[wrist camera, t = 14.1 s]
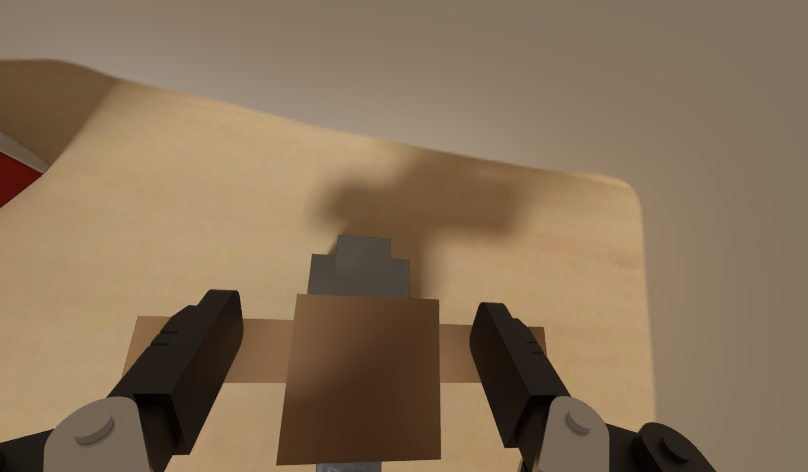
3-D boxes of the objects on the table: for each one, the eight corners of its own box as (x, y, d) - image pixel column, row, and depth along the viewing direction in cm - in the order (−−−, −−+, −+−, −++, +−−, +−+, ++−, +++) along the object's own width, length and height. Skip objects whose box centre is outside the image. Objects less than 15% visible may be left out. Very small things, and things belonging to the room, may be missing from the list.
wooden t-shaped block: (156, 380, 14) (-278, 485, 4) (172, 313, 15) (-161, 275, 5) (522, 380, 17) (763, 447, 7) (517, 323, 18) (725, 310, 8)
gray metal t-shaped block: (394, 425, 24) (422, 484, 15) (301, 426, 23) (267, 491, 14) (399, 272, 28) (424, 241, 18) (318, 267, 27) (301, 232, 17)
